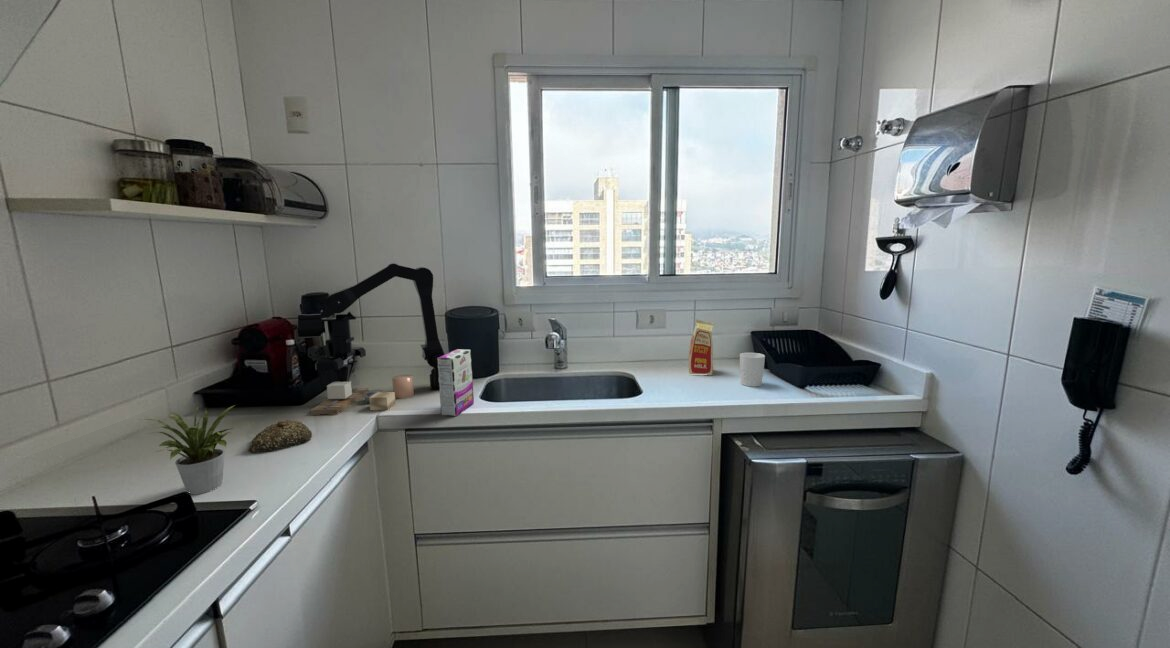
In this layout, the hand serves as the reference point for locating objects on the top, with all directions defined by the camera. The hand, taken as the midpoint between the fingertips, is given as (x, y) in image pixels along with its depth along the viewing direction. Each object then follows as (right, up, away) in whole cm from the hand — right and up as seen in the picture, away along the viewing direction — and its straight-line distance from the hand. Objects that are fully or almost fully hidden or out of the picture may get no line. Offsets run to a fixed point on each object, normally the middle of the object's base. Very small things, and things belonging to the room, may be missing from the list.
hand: (344, 385), depth 135 cm
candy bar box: (+36, -6, -8) cm, 38 cm away
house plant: (-1, -13, -51) cm, 53 cm away
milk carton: (+116, +1, +30) cm, 120 cm away
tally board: (0, -5, -2) cm, 5 cm away
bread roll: (0, -10, -28) cm, 30 cm away
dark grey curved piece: (+9, -5, 0) cm, 10 cm away
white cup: (+128, -2, +15) cm, 129 cm away
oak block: (+14, -6, -6) cm, 17 cm away
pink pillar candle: (+16, -4, +5) cm, 17 cm away
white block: (0, -3, -3) cm, 4 cm away
